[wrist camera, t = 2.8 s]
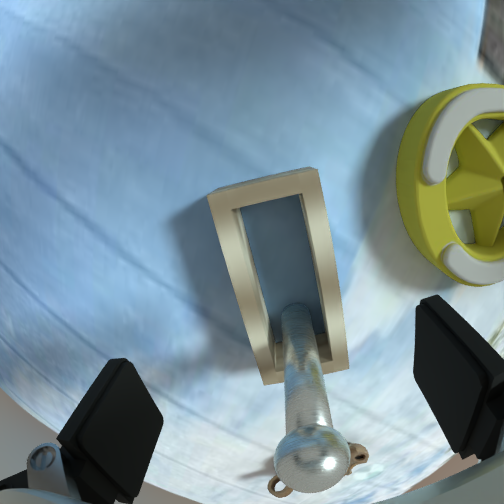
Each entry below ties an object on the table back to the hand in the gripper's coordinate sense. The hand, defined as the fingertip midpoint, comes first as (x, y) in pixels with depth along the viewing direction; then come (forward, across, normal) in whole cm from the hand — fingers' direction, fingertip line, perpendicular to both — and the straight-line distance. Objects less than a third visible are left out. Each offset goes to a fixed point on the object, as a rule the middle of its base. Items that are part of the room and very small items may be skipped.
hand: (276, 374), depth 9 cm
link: (+15, -1, +2) cm, 15 cm away
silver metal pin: (+15, -1, +6) cm, 16 cm away
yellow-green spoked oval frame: (+15, -21, -2) cm, 26 cm away
